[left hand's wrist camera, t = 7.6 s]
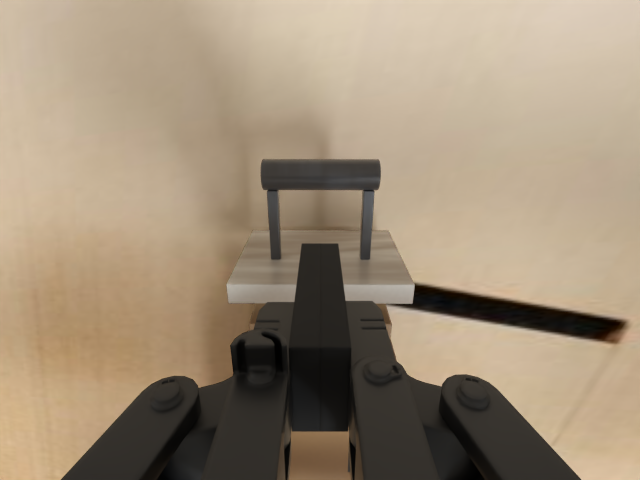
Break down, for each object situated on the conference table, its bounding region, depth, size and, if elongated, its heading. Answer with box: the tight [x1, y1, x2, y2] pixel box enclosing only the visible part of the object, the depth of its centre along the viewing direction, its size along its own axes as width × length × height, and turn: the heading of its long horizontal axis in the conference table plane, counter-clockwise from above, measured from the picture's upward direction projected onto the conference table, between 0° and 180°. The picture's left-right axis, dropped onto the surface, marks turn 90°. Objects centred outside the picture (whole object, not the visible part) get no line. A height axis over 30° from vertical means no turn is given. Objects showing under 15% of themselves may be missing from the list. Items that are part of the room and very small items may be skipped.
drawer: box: [226, 159, 415, 338], centre depth 25 cm, size 25×10×8 cm, turn 0°
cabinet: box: [289, 339, 397, 480], centre depth 30 cm, size 21×11×10 cm, turn 0°
